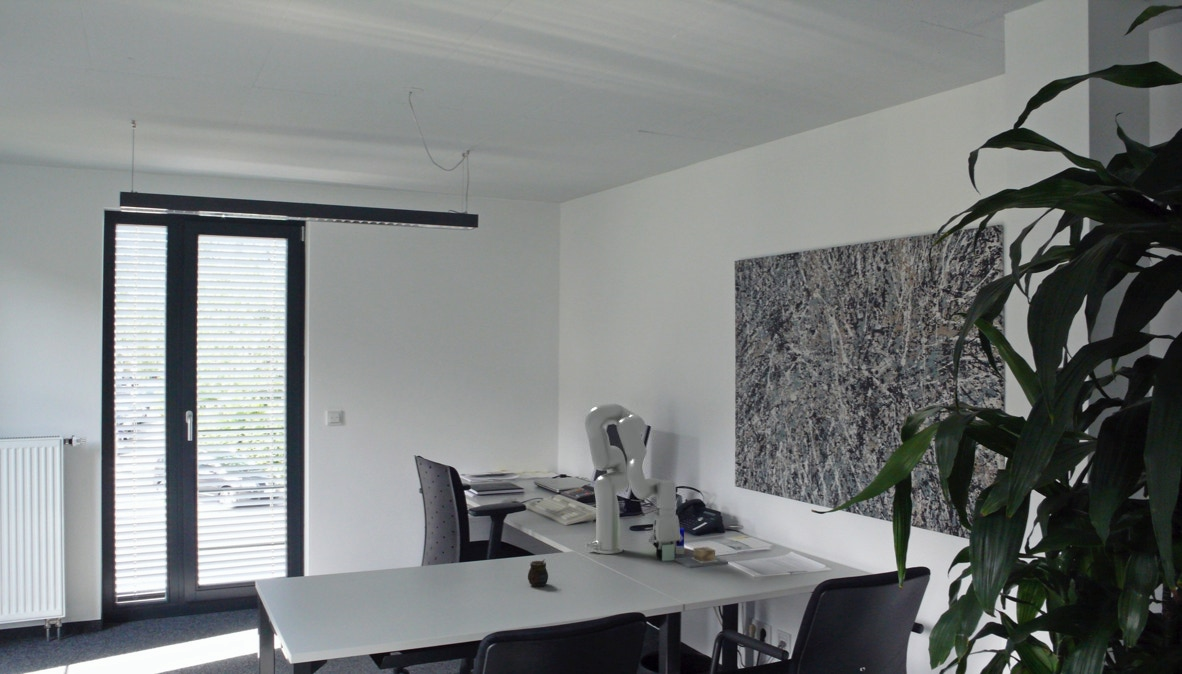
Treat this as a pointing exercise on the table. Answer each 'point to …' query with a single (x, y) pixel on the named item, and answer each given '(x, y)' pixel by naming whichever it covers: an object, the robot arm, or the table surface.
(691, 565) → the felt mat
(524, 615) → the table surface
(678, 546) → the puzzle toy
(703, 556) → the oak base block
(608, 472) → the robot arm
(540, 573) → the mate gourd
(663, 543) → the sage block
